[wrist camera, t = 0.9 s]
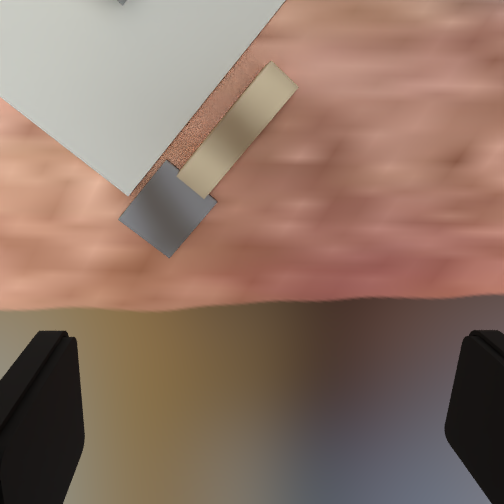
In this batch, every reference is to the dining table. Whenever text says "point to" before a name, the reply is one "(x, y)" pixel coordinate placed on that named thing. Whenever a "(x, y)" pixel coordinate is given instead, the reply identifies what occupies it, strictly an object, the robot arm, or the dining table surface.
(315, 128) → the dining table surface
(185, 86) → the mat
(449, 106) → the dining table surface
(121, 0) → the tile
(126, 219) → the turner
